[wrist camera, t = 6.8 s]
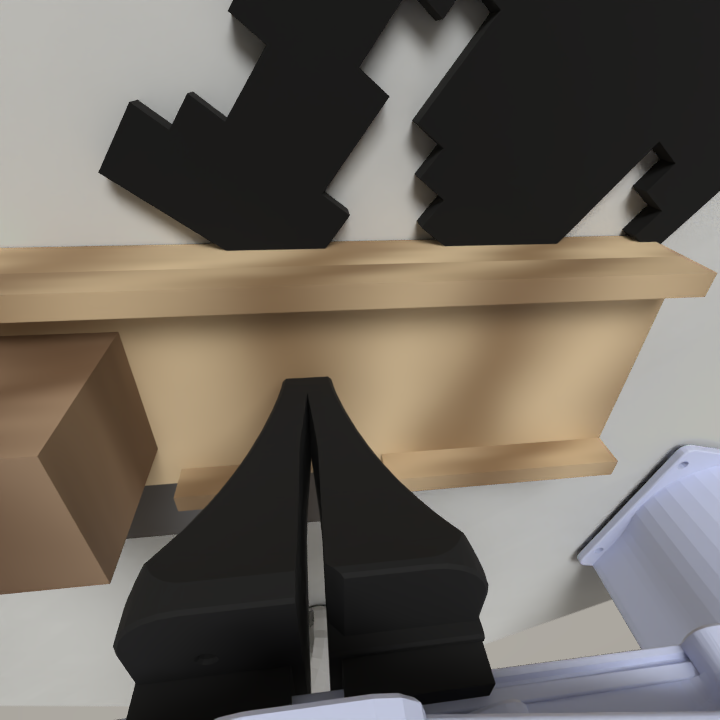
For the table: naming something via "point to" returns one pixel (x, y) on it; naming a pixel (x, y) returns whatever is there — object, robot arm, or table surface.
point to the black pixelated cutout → (447, 124)
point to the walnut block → (68, 459)
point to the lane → (363, 349)
